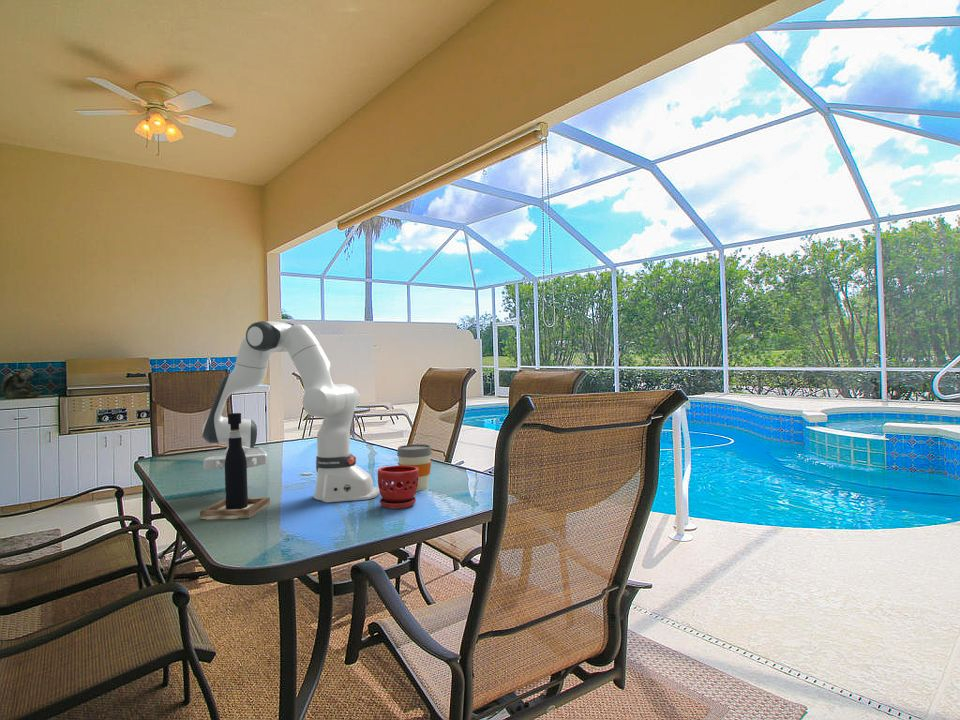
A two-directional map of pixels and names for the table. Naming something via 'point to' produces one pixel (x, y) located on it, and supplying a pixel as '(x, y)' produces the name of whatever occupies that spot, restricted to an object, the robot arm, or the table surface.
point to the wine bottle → (235, 467)
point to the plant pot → (398, 486)
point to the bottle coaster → (221, 512)
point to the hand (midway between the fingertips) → (236, 464)
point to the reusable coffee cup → (417, 461)
